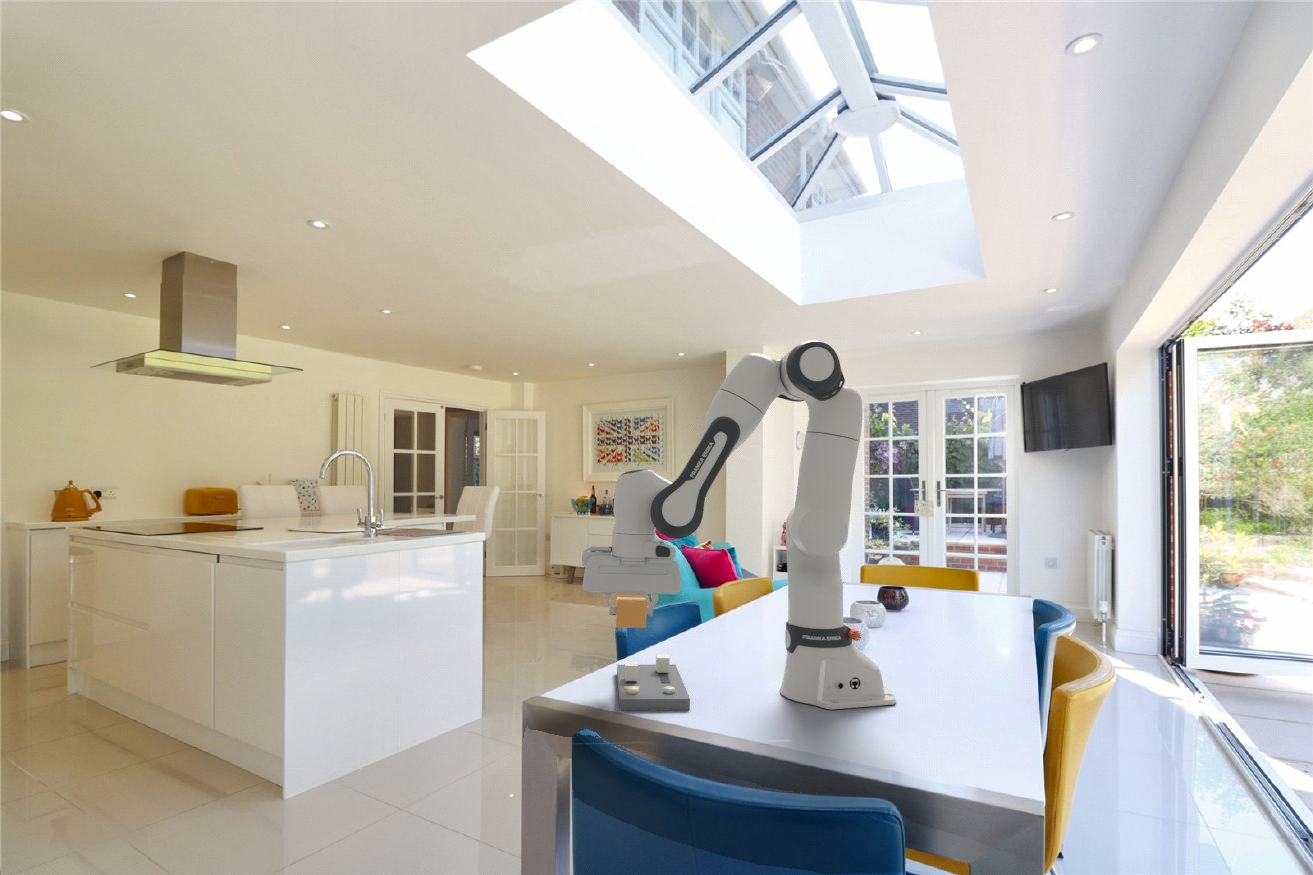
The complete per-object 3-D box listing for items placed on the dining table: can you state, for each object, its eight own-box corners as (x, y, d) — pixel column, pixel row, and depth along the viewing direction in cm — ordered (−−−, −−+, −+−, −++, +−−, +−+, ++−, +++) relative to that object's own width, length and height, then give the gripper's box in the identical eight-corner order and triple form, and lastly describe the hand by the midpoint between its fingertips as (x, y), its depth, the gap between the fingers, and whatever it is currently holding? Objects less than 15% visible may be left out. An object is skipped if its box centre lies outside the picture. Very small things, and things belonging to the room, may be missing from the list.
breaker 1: (636, 676, 134) (637, 661, 135) (637, 681, 131) (638, 665, 132) (624, 676, 134) (624, 662, 134) (624, 681, 131) (625, 665, 131)
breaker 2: (667, 668, 141) (668, 654, 141) (669, 672, 138) (669, 658, 138) (655, 668, 141) (656, 654, 141) (656, 672, 138) (657, 658, 138)
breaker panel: (675, 673, 145) (675, 660, 146) (689, 709, 122) (690, 694, 122) (617, 673, 144) (617, 661, 145) (619, 710, 120) (620, 694, 121)
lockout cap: (643, 621, 137) (644, 597, 137) (645, 627, 131) (646, 602, 131) (615, 621, 137) (616, 597, 137) (616, 627, 131) (617, 602, 131)
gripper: (582, 547, 131) (579, 617, 130) (683, 550, 133) (681, 619, 132) (583, 544, 137) (580, 611, 136) (679, 547, 139) (677, 613, 138)
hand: (630, 615), depth 134 cm, fingers closed on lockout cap, 6 cm apart
